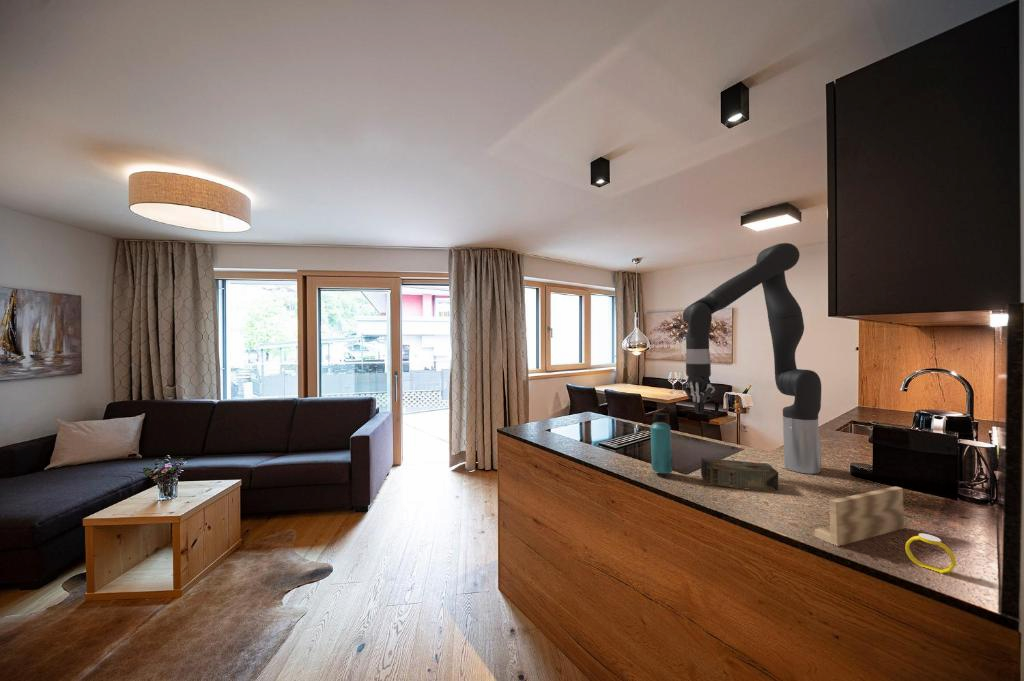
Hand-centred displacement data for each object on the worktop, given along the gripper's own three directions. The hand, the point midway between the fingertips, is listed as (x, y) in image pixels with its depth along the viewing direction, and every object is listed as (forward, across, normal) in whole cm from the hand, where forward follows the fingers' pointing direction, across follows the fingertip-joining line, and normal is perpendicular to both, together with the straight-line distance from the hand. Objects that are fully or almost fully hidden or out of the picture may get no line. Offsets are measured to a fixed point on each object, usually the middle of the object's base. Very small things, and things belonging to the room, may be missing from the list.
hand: (699, 413), depth 122 cm
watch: (+19, -56, +3) cm, 60 cm away
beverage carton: (+19, -14, 0) cm, 24 cm away
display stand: (+19, -44, 0) cm, 48 cm away
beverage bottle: (+19, 0, +16) cm, 25 cm away
